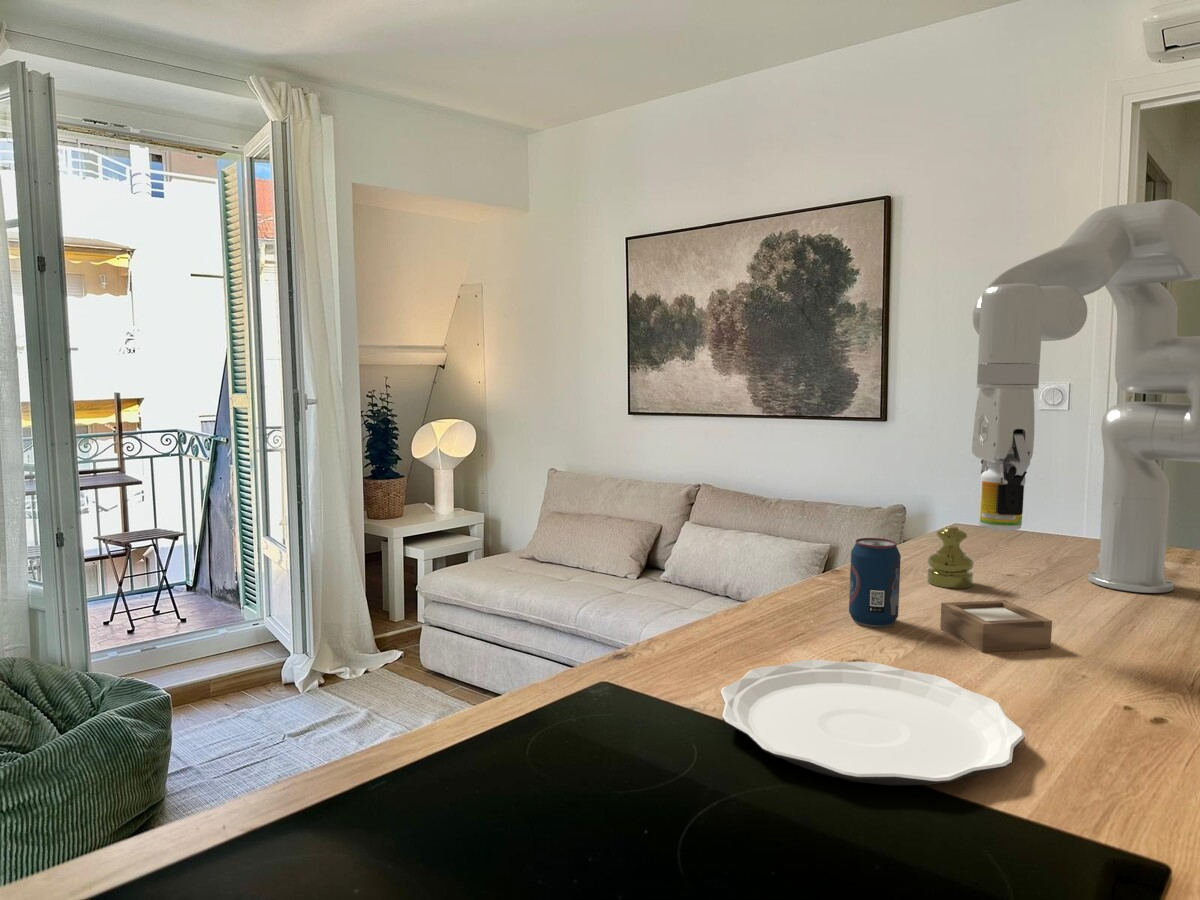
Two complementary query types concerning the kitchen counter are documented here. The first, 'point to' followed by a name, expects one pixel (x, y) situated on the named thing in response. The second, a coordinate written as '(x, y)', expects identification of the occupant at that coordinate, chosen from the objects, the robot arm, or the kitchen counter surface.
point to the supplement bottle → (994, 501)
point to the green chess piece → (950, 561)
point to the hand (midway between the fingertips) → (1000, 509)
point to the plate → (871, 722)
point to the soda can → (874, 582)
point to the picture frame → (996, 625)
